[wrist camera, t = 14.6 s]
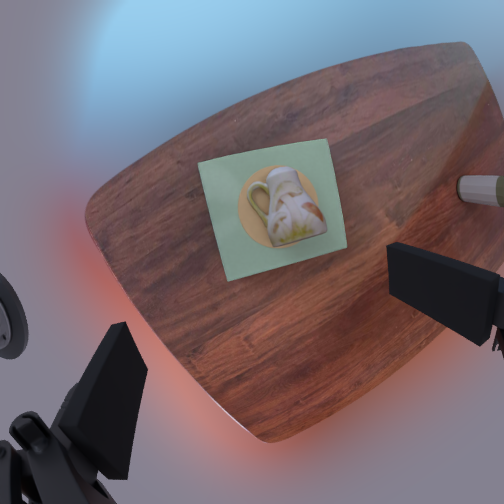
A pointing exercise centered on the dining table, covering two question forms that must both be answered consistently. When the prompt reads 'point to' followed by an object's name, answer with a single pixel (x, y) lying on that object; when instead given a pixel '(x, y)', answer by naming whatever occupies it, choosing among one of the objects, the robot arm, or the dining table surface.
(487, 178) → the bottle
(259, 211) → the mug
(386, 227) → the dining table surface
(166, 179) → the dining table surface
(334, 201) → the shelf
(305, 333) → the dining table surface
